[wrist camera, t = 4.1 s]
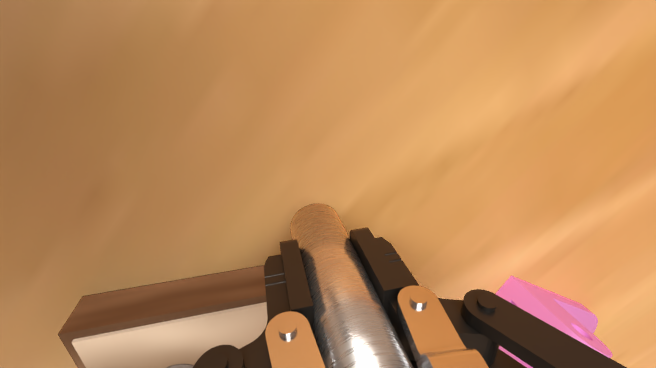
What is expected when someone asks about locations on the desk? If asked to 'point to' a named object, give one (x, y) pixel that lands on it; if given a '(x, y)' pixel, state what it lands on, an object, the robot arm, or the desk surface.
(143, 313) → the pin board
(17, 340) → the desk surface
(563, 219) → the desk surface
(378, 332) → the grey metal pin
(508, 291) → the bracket
